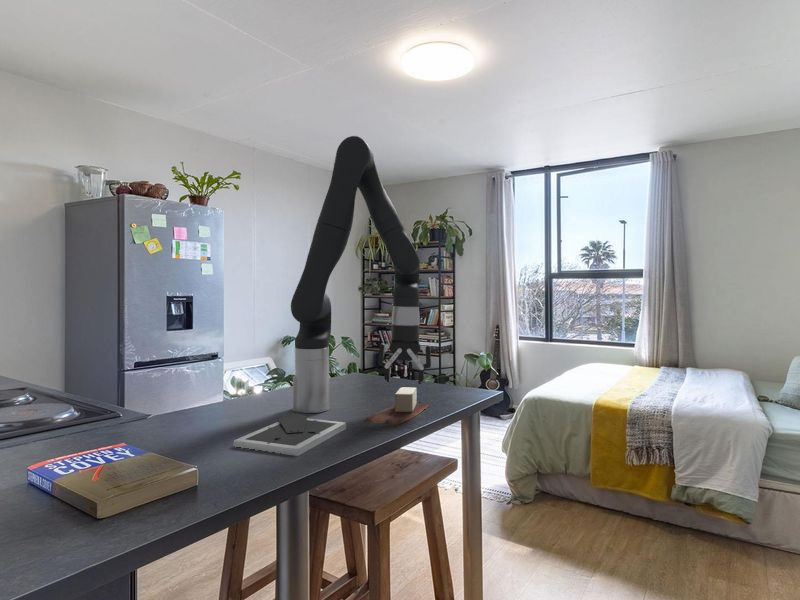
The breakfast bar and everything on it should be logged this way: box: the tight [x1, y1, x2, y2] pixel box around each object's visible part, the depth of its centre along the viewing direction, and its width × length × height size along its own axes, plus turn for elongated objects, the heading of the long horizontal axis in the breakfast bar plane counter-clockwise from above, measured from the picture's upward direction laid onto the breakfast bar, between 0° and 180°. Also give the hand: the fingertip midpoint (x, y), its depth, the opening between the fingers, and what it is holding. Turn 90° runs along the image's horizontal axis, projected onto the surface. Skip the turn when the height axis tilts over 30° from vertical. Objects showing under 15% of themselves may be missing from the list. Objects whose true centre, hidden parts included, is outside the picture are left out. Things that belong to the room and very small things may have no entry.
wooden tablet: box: [364, 401, 433, 426], centre depth 132 cm, size 26×2×10 cm
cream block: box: [394, 386, 418, 412], centre depth 133 cm, size 5×5×10 cm
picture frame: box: [233, 413, 347, 457], centre depth 109 cm, size 16×3×21 cm
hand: (404, 382), depth 132 cm, fingers open, 8 cm apart
